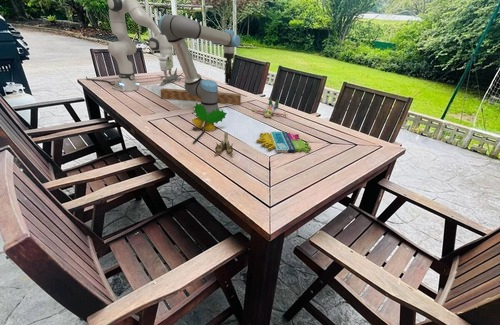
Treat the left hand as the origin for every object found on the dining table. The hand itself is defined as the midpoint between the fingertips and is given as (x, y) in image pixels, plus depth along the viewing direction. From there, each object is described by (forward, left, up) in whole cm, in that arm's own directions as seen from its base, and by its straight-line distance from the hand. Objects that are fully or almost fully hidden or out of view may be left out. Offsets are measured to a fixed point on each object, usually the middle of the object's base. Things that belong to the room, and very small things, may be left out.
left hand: (168, 75), depth 207 cm
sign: (+110, -30, -19) cm, 115 cm away
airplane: (-39, +46, -19) cm, 63 cm away
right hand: (+43, +21, -2) cm, 48 cm away
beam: (+24, +11, -19) cm, 32 cm away
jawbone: (+88, -57, -19) cm, 106 cm away
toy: (+83, +19, -19) cm, 87 cm away
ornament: (+63, -36, -19) cm, 75 cm away
